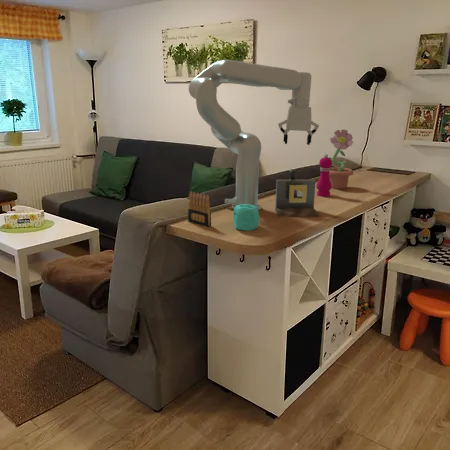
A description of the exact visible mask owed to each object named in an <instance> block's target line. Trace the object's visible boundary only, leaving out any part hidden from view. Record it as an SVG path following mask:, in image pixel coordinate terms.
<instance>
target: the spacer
mask: <svg viewBox="0 0 450 450" xmlns="http://www.w3.org/2000/svg"><path fill="white" fill-rule="evenodd" d="M294 190H302V197H301V198H294ZM306 196H307V185H289V203H306Z"/></svg>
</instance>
